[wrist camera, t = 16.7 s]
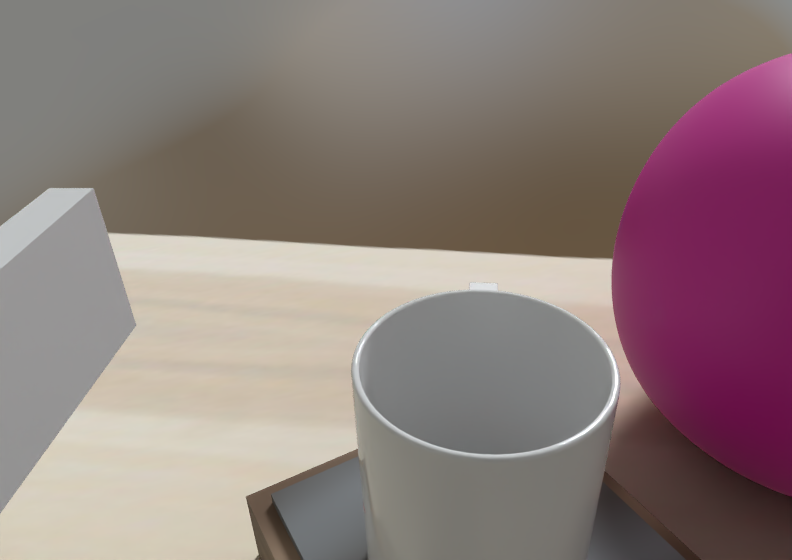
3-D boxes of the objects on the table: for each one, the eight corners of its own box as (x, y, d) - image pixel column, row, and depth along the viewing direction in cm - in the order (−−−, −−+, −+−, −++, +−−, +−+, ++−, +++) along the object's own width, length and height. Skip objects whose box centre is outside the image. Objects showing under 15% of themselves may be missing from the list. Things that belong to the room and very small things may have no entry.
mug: (594, 685, 24) (645, 470, 18) (351, 660, 25) (325, 448, 19) (564, 441, 34) (590, 252, 28) (392, 430, 35) (383, 246, 29)
